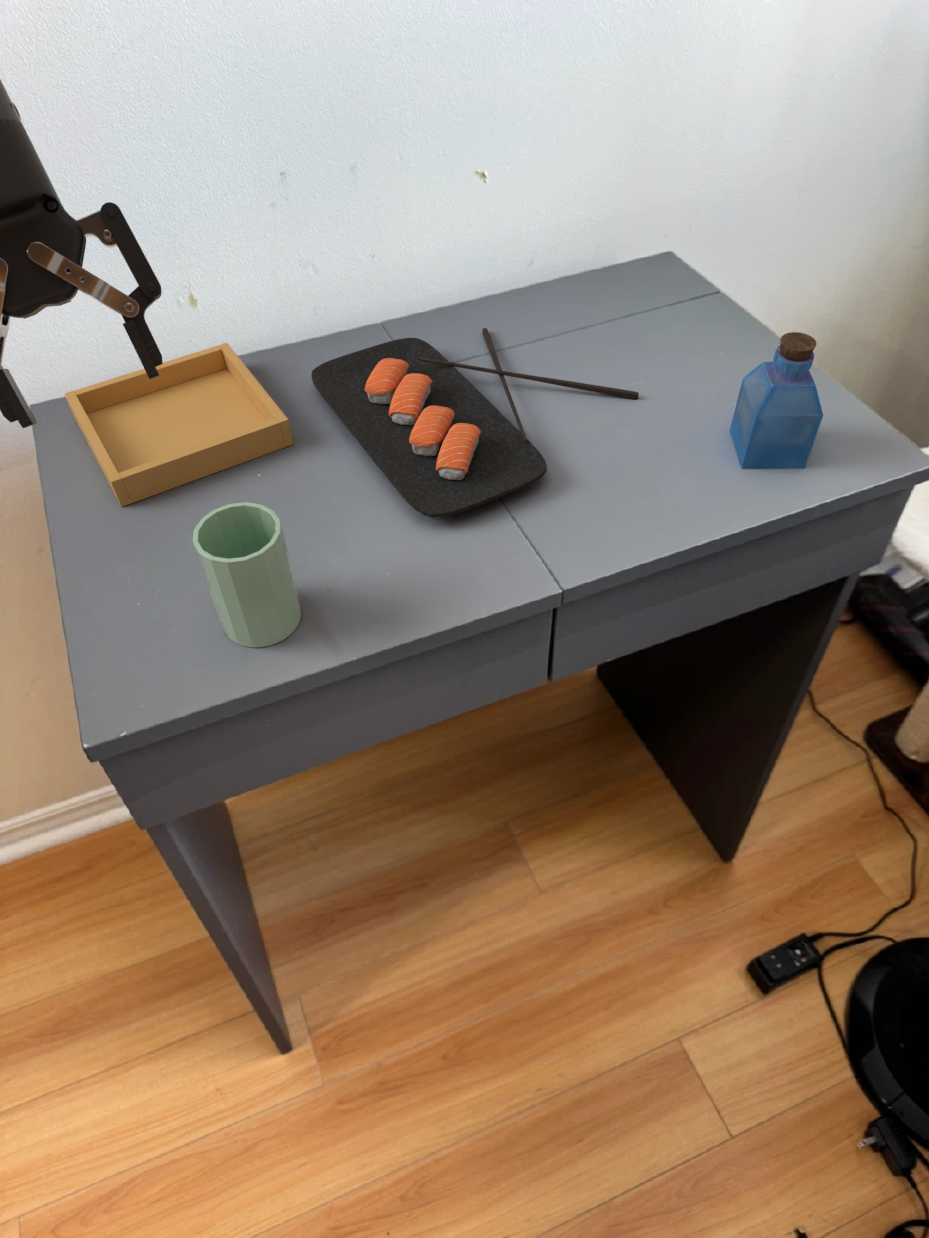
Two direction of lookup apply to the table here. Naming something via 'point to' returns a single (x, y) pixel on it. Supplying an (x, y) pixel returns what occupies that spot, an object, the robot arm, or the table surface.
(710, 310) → the table surface
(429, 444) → the sushi plate
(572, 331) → the table surface
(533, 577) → the table surface
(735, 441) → the perfume bottle
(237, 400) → the tray
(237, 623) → the teacup
